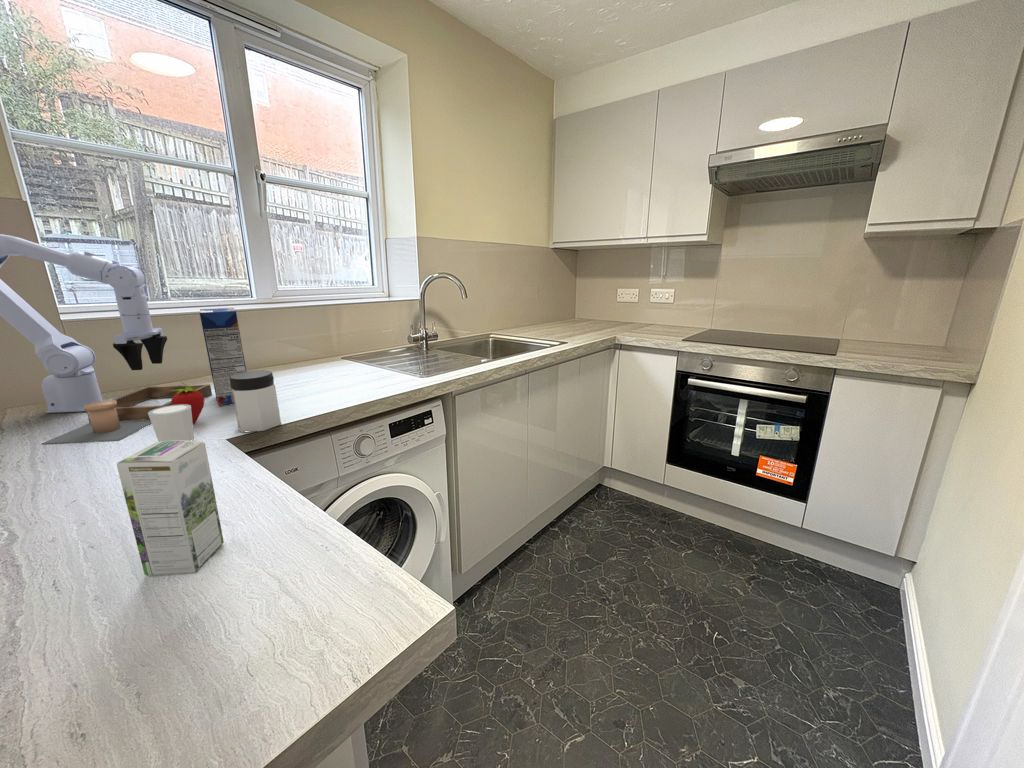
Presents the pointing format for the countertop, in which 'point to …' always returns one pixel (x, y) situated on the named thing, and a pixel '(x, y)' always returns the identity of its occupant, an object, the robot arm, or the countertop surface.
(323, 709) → the countertop surface
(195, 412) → the strawberry
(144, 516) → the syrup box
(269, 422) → the jar
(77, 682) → the countertop surface
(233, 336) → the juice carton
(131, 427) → the slate mat
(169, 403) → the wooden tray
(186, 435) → the white tapered pot
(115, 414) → the wooden drawer knob
